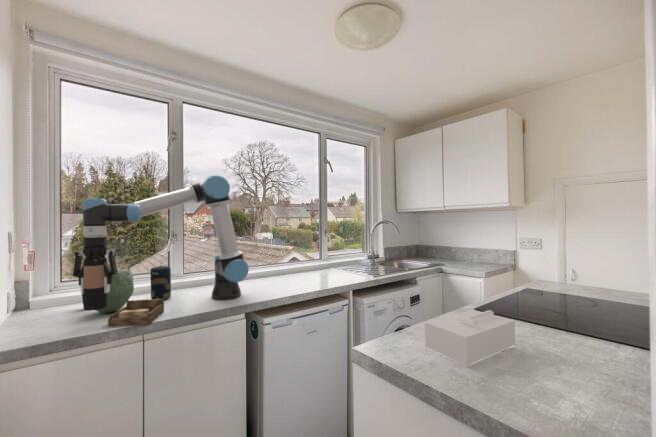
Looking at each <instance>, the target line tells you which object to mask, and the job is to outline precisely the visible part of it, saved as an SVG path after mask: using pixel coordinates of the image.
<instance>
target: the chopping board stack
mask: <svg viewBox="0 0 656 437" xmlns="http://www.w3.org/2000/svg"><path fill="white" fill-rule="evenodd" d="M148 313H149V309H137V310H123V311H121V312H119V318H127V317H142V316H148Z"/></svg>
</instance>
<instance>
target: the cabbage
mask: <svg viewBox="0 0 656 437" xmlns="http://www.w3.org/2000/svg"><path fill="white" fill-rule="evenodd" d="M116 267H117V274H114V275H113V276H112V284H110V292H108V293H107V307H105V308H103V309H98V310H95V312H98V313H102V314H109V313H116V312H117V311H119V310H121V309H122V308H124V307H125V305H127V301H130V298H131V297H132V295H133V294H134V289H135V286H134V279H135V278H134V277H135V276H134V275H131V272H130V271H129V270H127V269H122V268H120V267H118V266H116Z"/></svg>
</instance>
